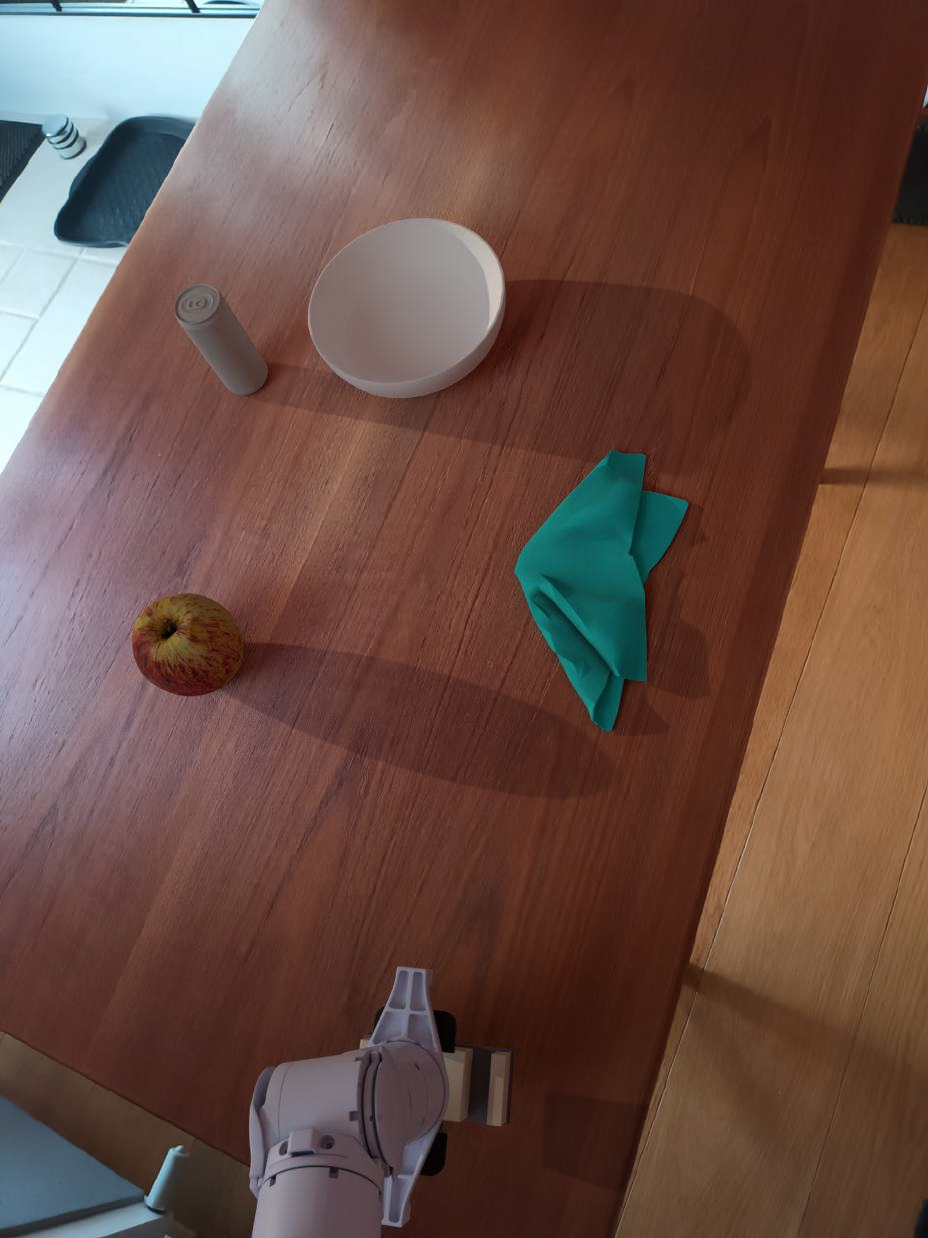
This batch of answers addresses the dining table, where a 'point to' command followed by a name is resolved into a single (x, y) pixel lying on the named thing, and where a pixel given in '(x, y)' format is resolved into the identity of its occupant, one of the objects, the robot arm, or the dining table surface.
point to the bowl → (408, 307)
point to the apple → (187, 644)
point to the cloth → (599, 578)
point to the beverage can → (220, 338)
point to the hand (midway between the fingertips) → (431, 1077)
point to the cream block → (476, 1083)
